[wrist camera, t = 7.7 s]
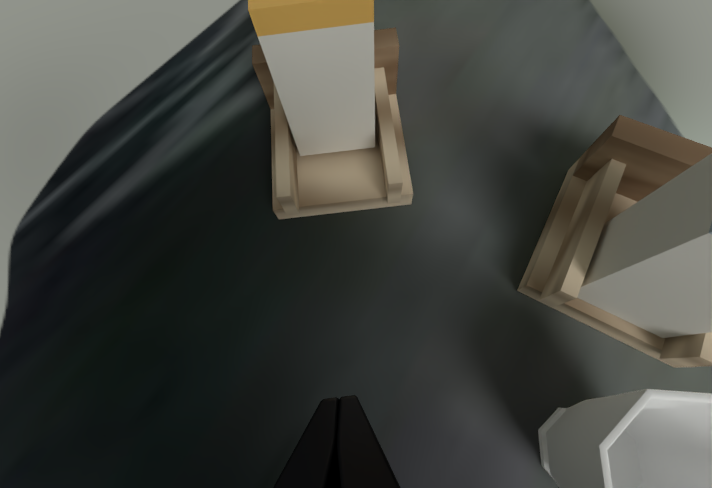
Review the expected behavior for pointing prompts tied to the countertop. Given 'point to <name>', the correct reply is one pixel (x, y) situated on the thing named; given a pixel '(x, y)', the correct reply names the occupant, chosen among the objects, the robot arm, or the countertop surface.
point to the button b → (659, 259)
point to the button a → (321, 69)
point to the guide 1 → (345, 168)
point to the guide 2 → (585, 223)
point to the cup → (631, 441)
